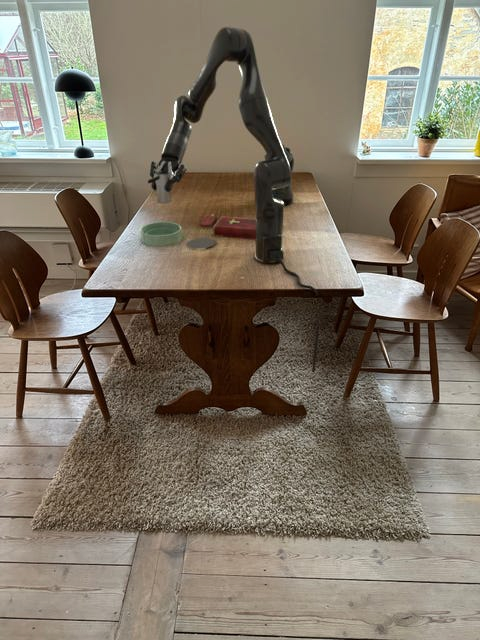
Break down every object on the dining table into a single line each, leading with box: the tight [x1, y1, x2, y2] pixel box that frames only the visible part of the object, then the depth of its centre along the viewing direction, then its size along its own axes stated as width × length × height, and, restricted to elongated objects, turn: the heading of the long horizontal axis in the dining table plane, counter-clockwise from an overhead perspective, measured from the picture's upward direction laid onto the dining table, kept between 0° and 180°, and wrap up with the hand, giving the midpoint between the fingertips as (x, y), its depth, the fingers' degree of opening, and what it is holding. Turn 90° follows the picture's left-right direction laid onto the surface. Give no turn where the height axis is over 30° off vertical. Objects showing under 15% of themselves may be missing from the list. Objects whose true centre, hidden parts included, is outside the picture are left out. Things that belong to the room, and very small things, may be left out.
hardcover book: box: [212, 215, 256, 240], centre depth 179 cm, size 12×21×4 cm, turn 76°
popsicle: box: [200, 213, 217, 228], centre depth 191 cm, size 4×2×15 cm
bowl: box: [140, 221, 183, 247], centre depth 173 cm, size 15×15×4 cm
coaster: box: [187, 237, 216, 250], centre depth 170 cm, size 10×10×1 cm
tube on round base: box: [147, 171, 172, 204], centre depth 160 cm, size 11×5×10 cm, turn 156°
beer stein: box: [264, 144, 295, 207], centre depth 210 cm, size 16×19×25 cm
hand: (160, 189), depth 161 cm, fingers closed on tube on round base, 5 cm apart
